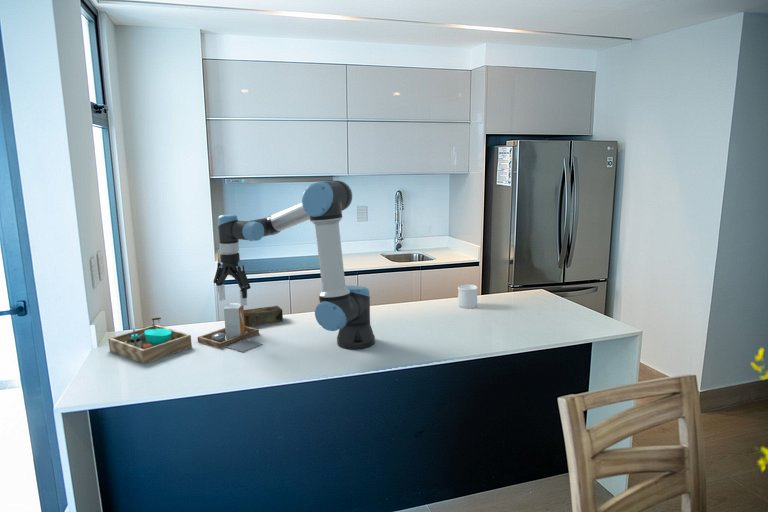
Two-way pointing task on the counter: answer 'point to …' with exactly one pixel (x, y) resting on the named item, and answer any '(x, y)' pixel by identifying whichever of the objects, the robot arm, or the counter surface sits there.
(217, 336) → the tin
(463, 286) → the cup
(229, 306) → the small box
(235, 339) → the frame
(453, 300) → the counter surface
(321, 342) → the counter surface
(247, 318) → the beverage carton
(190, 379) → the counter surface
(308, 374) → the counter surface
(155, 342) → the contraption on wooden base
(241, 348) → the mat
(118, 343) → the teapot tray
